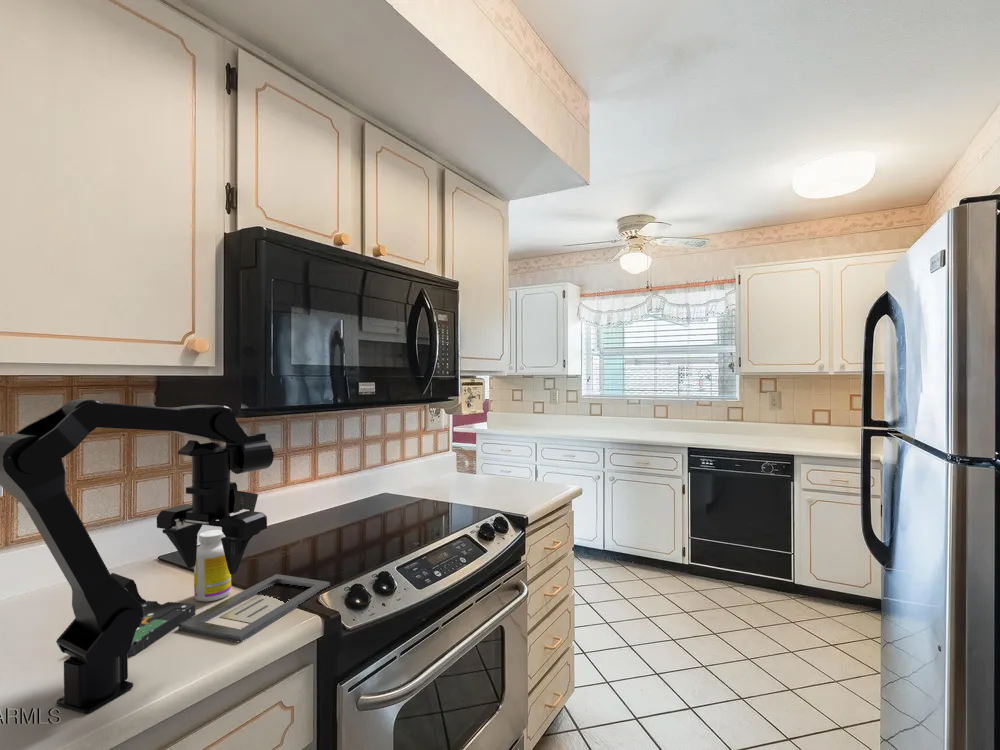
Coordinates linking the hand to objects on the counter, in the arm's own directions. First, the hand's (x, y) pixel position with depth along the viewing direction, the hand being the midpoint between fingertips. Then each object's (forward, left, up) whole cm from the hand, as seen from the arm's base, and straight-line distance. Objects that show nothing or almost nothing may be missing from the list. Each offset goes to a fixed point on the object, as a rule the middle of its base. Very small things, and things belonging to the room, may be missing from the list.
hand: (212, 570), depth 89 cm
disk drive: (-2, +15, -13) cm, 19 cm away
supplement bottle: (+14, +15, -12) cm, 24 cm away
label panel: (+13, +2, -12) cm, 18 cm away
